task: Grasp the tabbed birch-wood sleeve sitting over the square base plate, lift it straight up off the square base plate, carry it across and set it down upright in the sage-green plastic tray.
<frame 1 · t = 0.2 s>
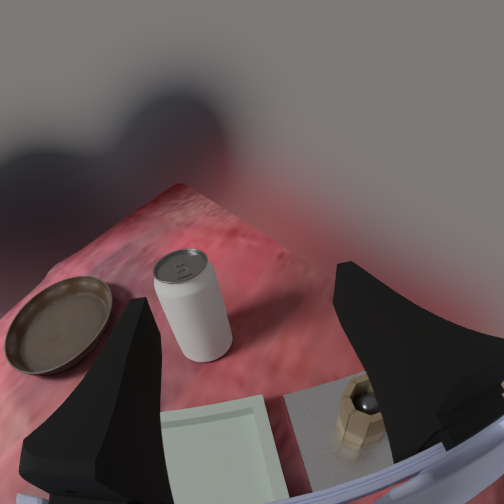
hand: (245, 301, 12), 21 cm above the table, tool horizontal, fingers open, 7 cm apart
tray: (195, 487, 23), on the table
square base plate: (359, 430, 26), on the table
plant saucer: (63, 334, 42), on the table
sleeve: (361, 426, 25), point 1 cm above the table, touching square base plate
can: (207, 344, 38), on the table
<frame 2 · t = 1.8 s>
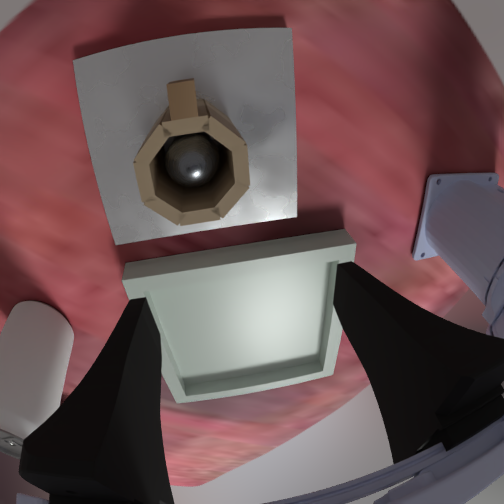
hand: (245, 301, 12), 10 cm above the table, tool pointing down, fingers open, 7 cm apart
tray: (246, 324, 27), on the table
square base plate: (191, 135, 18), on the table
sleeve: (191, 138, 17), point 1 cm above the table, touching square base plate
can: (43, 323, 23), on the table
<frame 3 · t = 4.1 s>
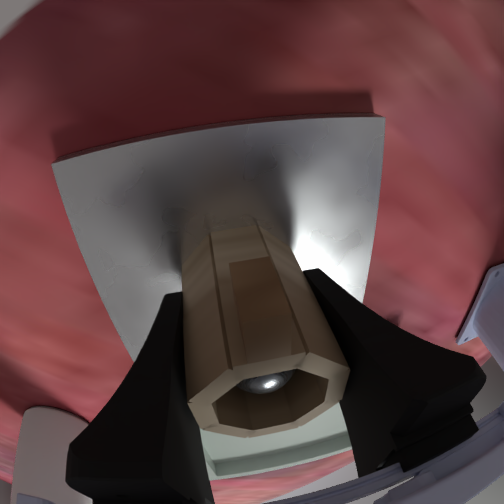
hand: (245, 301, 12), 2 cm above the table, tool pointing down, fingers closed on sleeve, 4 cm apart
tray: (283, 419, 23), on the table
square base plate: (236, 263, 14), on the table
sleeve: (239, 275, 13), point 1 cm above the table, touching gripper, square base plate
can: (60, 421, 20), on the table
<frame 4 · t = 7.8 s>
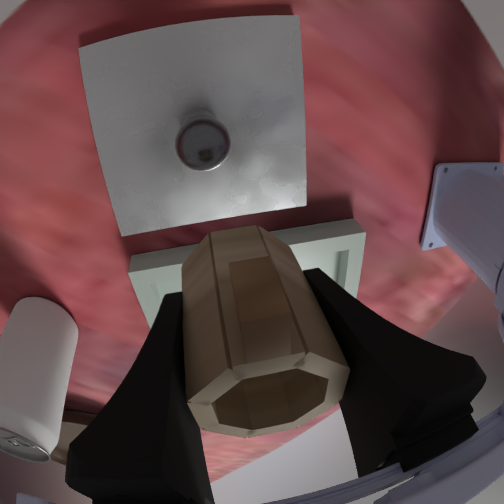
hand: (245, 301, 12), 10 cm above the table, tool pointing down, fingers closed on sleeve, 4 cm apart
tray: (254, 317, 26), on the table
square base plate: (199, 123, 17), on the table
plant saucer: (90, 434, 36), on the table
sleeve: (238, 274, 13), point 8 cm above the table, touching gripper
can: (46, 320, 23), on the table
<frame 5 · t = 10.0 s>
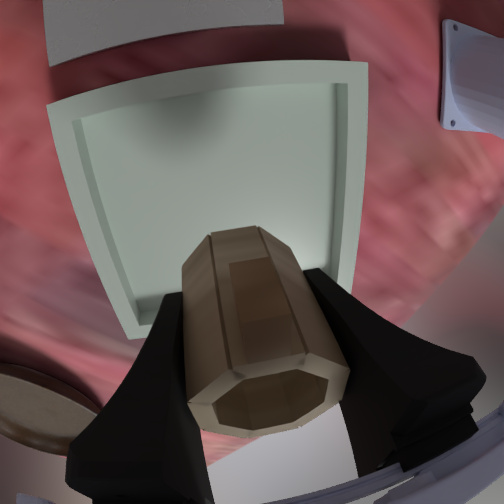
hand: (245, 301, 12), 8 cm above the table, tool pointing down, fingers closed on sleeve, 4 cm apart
tray: (222, 203, 19), on the table
plant saucer: (37, 401, 28), on the table
sleeve: (239, 275, 13), point 7 cm above the table, touching gripper
when the fingers open (4 cm above the table, at t = 11.8 s): sleeve drops 1 cm, resting on tray.
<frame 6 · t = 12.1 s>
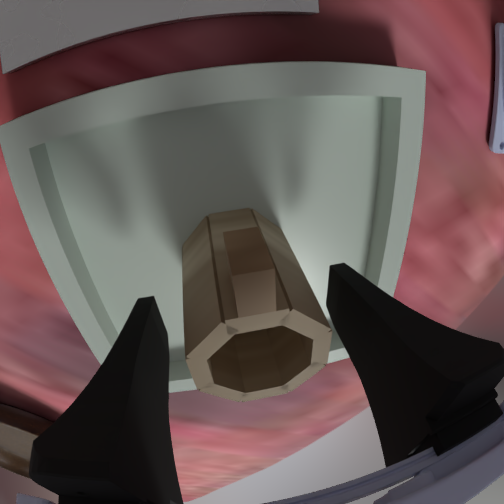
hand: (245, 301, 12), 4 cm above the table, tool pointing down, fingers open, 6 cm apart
tray: (232, 247, 15), on the table
plant saucer: (31, 436, 24), on the table
sleeve: (234, 254, 14), point 1 cm above the table, touching tray
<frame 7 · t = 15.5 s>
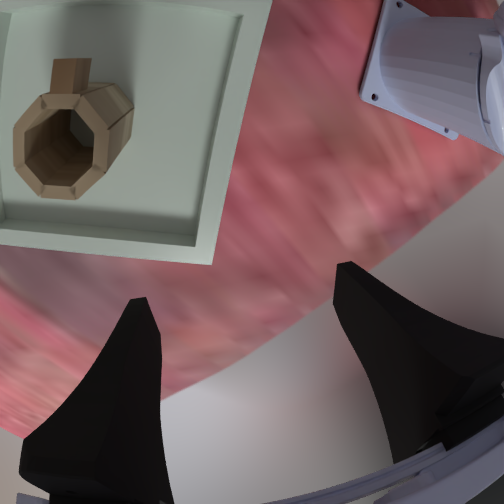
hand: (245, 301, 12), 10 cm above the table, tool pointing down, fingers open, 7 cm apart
tray: (98, 118, 16), on the table
sleeve: (95, 120, 15), point 1 cm above the table, touching tray
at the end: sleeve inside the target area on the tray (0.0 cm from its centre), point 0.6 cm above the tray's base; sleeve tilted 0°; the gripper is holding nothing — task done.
